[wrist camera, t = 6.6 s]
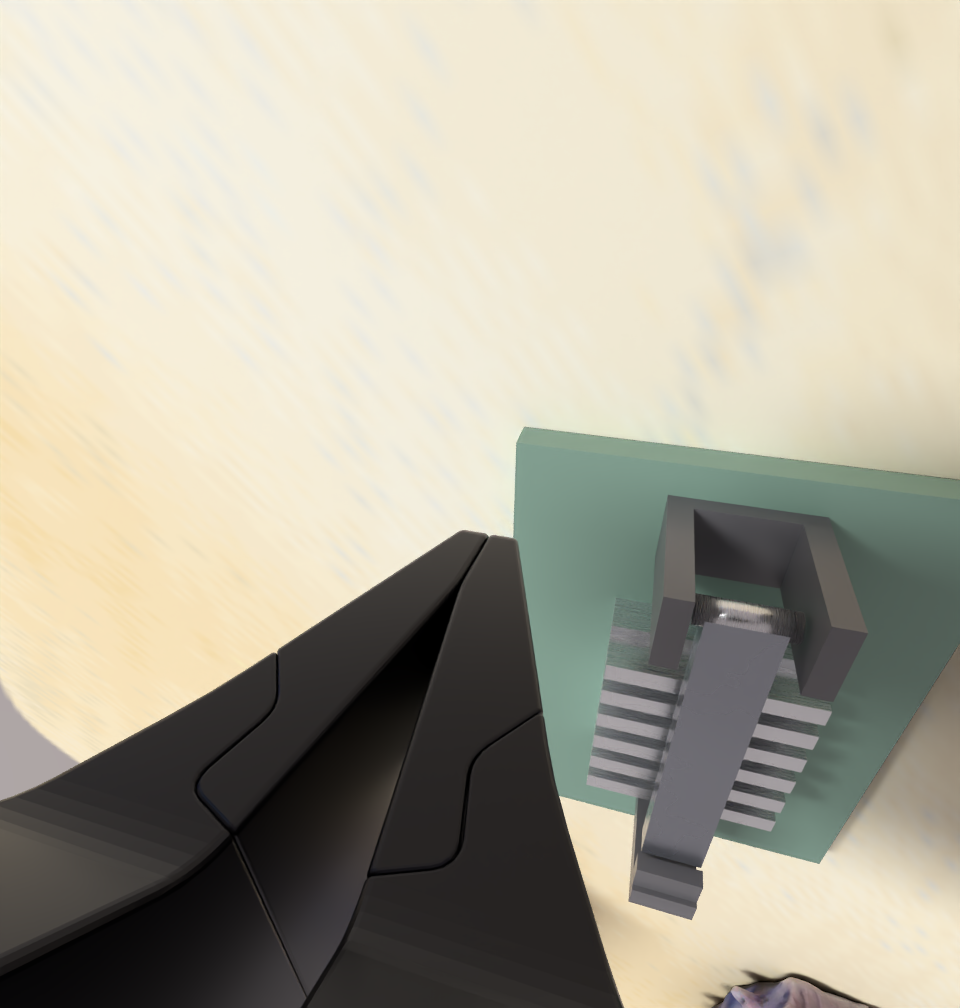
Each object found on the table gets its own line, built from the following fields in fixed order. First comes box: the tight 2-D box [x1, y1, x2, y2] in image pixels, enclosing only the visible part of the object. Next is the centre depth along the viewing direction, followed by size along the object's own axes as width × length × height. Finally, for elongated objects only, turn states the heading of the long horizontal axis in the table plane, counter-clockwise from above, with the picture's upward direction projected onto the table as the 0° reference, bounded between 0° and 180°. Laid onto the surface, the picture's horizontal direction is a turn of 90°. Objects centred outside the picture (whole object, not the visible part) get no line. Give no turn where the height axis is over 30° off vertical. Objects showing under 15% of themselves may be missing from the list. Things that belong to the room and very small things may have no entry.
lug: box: [629, 797, 703, 920], centre depth 25 cm, size 2×2×5 cm
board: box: [513, 427, 960, 864], centre depth 24 cm, size 15×20×1 cm
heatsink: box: [586, 598, 832, 832], centre depth 23 cm, size 7×8×3 cm
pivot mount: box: [648, 495, 868, 702], centre depth 18 cm, size 5×3×5 cm, turn 91°
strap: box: [641, 593, 806, 868], centre depth 20 cm, size 12×3×1 cm, turn 1°
